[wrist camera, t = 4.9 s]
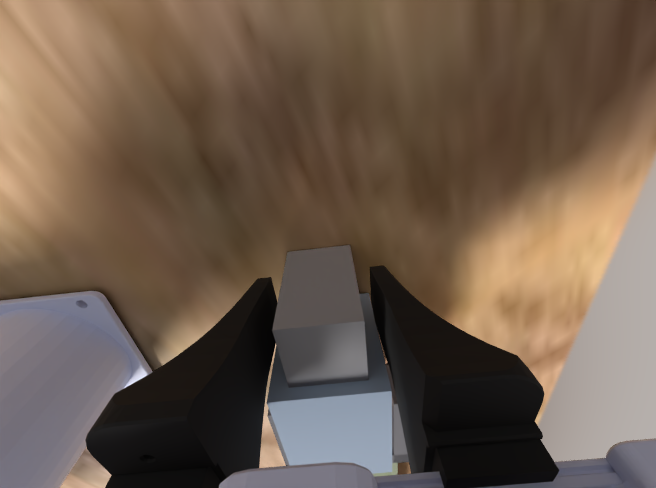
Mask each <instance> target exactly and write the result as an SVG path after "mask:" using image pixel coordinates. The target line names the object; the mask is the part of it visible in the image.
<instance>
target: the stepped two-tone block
mask: <svg viewBox="0 0 656 488" xmlns="http://www.w3.org/2000/svg"><path fill="white" fill-rule="evenodd" d="M272 331H273V335H274V338H275V342H276V345H277V346H276V352H275V358H274V364H273V369H272V375H271V381H270V387H269V393H268V399H267V404H268V407H269V410H270V413H271V415H272V418H273V421H274V424H275V426H276V429H277V432H278V435H279V437H280V440H281V443H282V446H283V448H284V451H285V454H286V457H287V459H288V462H289V465H290V466H292V465H305V464H317V463H329V462H346V463H355V464H358V465H360V466H363V467H365V468H367V469H368V470H370V471H371V473H372V474H375V473H387V472H392V390H391V386H390V382H389V377H388V373H387V369H386V365H385V360H384V356H383V352H382V348H381V343H380V339H379V335H378V331H377V327H376V323H375V319H374V314H373V309H372V305H371V301H370V297H369V293H363V294H359V289H358V284H357V279H356V274H355V268H354V263H353V258H352V252H351V247H350V245H345V246H336V247H327V248H318V249H309V250H300V251H291V252H287V257H286V262H285V268H284V273H283V278H282V283H281V288H280V293H279V298H278V303H277V308H276V313H275V318H274V323H273V329H272Z"/></svg>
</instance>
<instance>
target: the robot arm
mask: <svg viewBox="0 0 656 488" xmlns="http://www.w3.org/2000/svg"><path fill="white" fill-rule="evenodd" d="M370 285H371V303H372V309H373V314H374V319H375V323H376V327H377V330H378V333H379V336H380V339H381V342H382V346H383V349H384V352H385V355H386V358H387V361H388V364H389V368H390V372H391V375H392V380H393V384H394V389H395V394H396V398H397V403H398V408H399V413H400V418H401V423H402V428H403V433H404V438H405V443H406V448H407V453H408V459H409V464H410V469H411V474H401V475H388V476H376V477H374V476H373V474H372V473H371V471H370V470H368V469H367V468H365V467H363V466H360V465H358V464H355V463H346V462H329V463H317V464H305V465H292V466H280V467H268V468H259V461H260V448H261V435H262V424H263V414H264V404H265V396H266V387H267V381H268V375H269V371H270V366H271V362H272V357H273V353H274V348H275V343H276V342H275V338H274V335H273V331H272V329H273V323H274V318H275V313H276V308H277V299H276V295H275V291H274V287H273V283H272V279H271V277H269V278H259V279H257V280H256V281H255V282H254V284H253V285H252V286H251V287H250V288H249V289H248V291H247V292H246V293H245V294H244V295H243V296H242V298H241V299H240V300H239V301H238V302H237V303H236V304H235V306H234V307H233V308H232V309H231V310H230V311H229V312H228V313H227V314H226V315H225V316H224V317H223V318H222V319H221V320H220V321H219V322H218V323H217V324H216V325H215V326H214V327H213V328H212V329H211V330H209V331H208V332H207V333H206V334H205V335H204V336H202V337H201V338H200V339H199V340H198V341H196V342H195V343H194V344H192V345H191V346H190V347H188V348H187V349H186V350H184V351H183V352H182V353H180V354H179V355H178V356H176V357H175V358H174V359H172V360H171V361H169V362H168V363H166V364H165V365H163V366H161V367H160V368H158V369H157V370H155V371H154V372H153V371H152V370H151V368H150V367H149V365H148V363H147V362H146V360H145V359H144V357H143V356H142V354H141V352H140V351H139V349H138V348H137V346H136V344H135V343H134V341H133V340H132V338H131V336H130V335H129V333H128V332H127V330H126V329H125V327H124V325H123V324H122V322H121V321H120V319H119V317H118V316H117V314H116V313H115V311H114V310H113V308H112V306H111V305H110V303H109V302H108V300H107V298H106V297H105V296H104V295H103V294H102V293H100V292H97V291H84V292H75V293H66V294H57V295H47V296H38V297H29V298H20V299H10V300H1V301H0V488H60V486H61V485H62V483H63V482H64V480H65V479H66V477H67V476H68V474H69V473H70V471H71V470H72V468H73V466H74V465H75V463H76V462H77V460H78V459H79V457H80V456H81V454H82V453H83V451H84V449H85V448H86V446H87V449H88V450H89V452H90V453H91V455H92V456H93V457H94V458H95V459H96V460H97V461H98V462H99V463H100V464H101V465H102V466H103V467H104V468H105V469H106V470H107V471H108V472H109V473H110V474H111V475H112V476H111V478H110V480H109V481H108V483H107V485H106V487H105V488H656V439H644V440H632V441H625V442H620V443H618V444H615V445H613V446H612V447H611V448H610V449H609V451H608V452H607V455H606V458H598V459H586V460H573V461H561V462H554V461H553V459H552V458H551V456H550V454H549V453H548V451H547V450H546V448H545V446H544V445H543V443H542V442H541V440H540V439H542V437H543V435H542V432H541V431H540V429H539V428H538V426H537V424H536V423H535V419H536V416H537V414H538V412H539V409H540V407H541V405H542V402H543V398H544V391H543V388H542V386H541V385H540V383H539V382H538V380H537V379H536V378H535V376H534V375H533V374H532V372H531V371H530V370H529V368H528V367H527V366H526V365H525V364H524V363H523V362H522V361H521V359H520V358H519V357H518V356H517V355H514V354H512V353H509V352H507V351H505V350H502V349H500V348H497V347H495V346H493V345H490V344H488V343H486V342H484V341H482V340H480V339H478V338H476V337H473V336H471V335H470V334H468V333H466V332H464V331H462V330H460V329H459V328H457V327H455V326H453V325H452V324H450V323H448V322H447V321H445V320H444V319H442V318H441V317H439V316H438V315H436V314H435V313H433V312H432V311H431V310H429V309H428V308H427V307H425V306H424V305H423V304H422V303H421V302H419V301H418V300H417V299H416V298H415V297H414V296H412V295H411V294H410V293H409V292H408V291H407V290H406V289H405V288H404V287H403V286H402V285H401V284H400V283H399V282H398V281H397V280H396V279H395V278H394V277H393V275H392V274H391V273H390V272H389V271H388V270H387V268H386V267H384V266H374V267H370Z"/></svg>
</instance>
